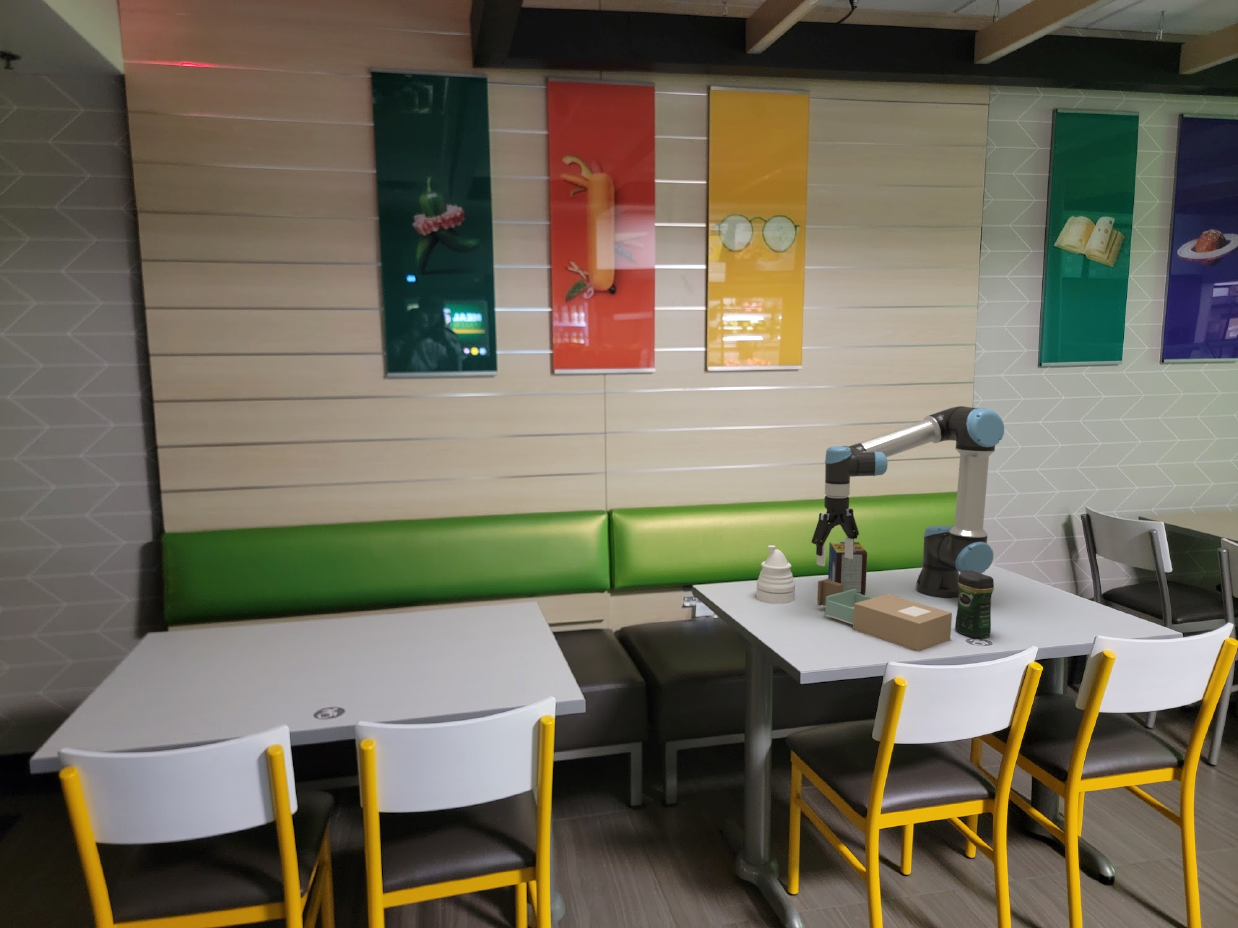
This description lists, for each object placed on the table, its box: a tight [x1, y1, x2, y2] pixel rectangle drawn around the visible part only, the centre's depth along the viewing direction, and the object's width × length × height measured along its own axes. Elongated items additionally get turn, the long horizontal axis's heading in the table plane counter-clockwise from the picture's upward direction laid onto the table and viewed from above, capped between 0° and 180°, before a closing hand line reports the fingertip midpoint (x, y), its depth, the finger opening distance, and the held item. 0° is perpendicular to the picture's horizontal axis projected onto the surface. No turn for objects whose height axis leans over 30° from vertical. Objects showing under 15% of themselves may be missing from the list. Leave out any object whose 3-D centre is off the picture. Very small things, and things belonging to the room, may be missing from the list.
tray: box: [816, 578, 873, 625], centre depth 251 cm, size 14×28×8 cm, turn 36°
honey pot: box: [755, 544, 796, 605], centre depth 272 cm, size 13×13×18 cm
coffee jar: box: [954, 570, 995, 639], centre depth 239 cm, size 10×8×19 cm
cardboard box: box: [852, 593, 953, 652], centre depth 238 cm, size 16×22×8 cm
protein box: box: [827, 540, 868, 596], centre depth 282 cm, size 10×15×16 cm
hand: (835, 561), depth 257 cm, fingers open, 13 cm apart
